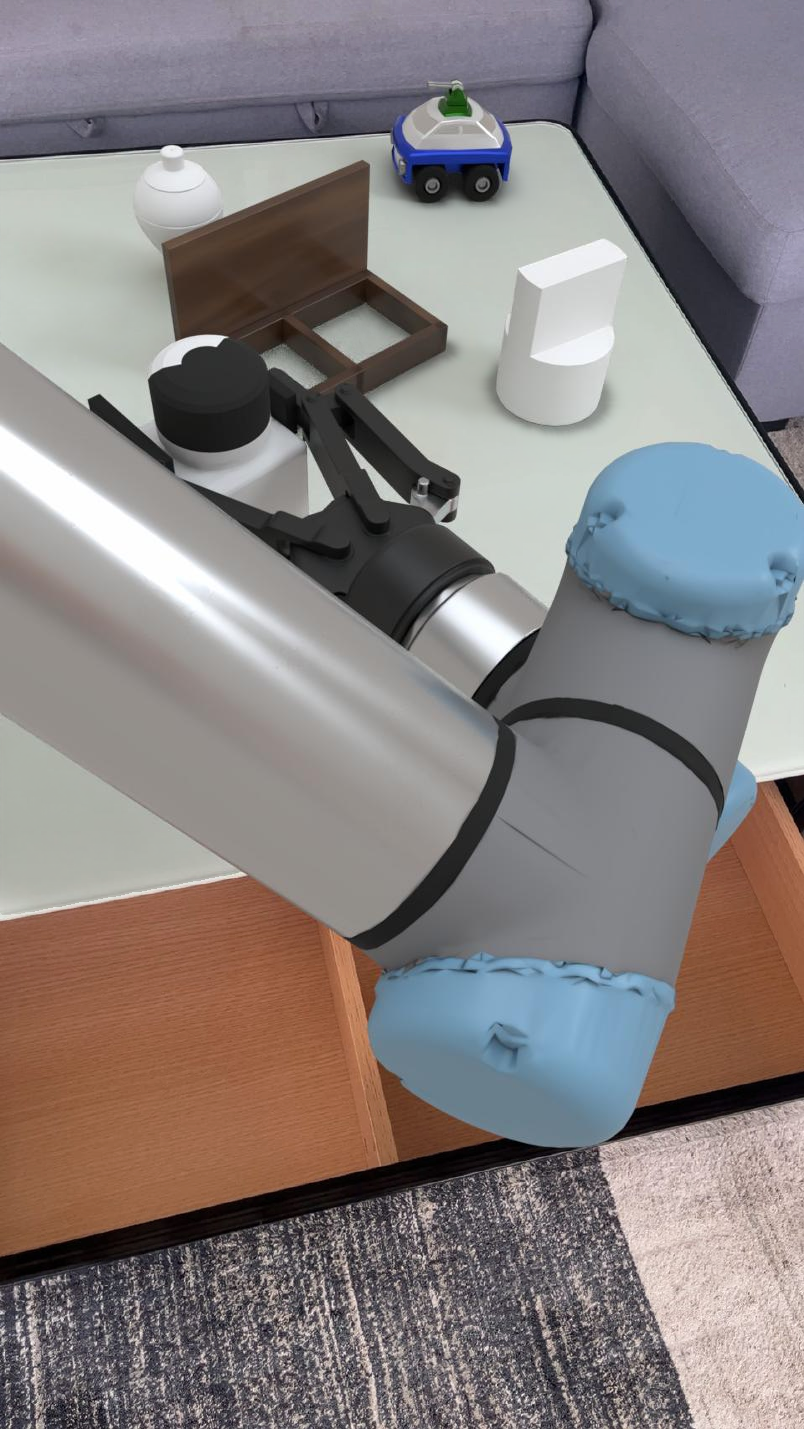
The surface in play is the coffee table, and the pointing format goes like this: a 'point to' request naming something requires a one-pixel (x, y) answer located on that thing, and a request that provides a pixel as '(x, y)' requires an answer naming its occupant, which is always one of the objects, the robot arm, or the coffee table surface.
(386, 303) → the rack
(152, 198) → the spinning top
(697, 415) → the coffee table surface
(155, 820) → the coffee table surface
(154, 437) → the medicine bottle
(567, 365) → the base with upright slab
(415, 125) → the toy car
